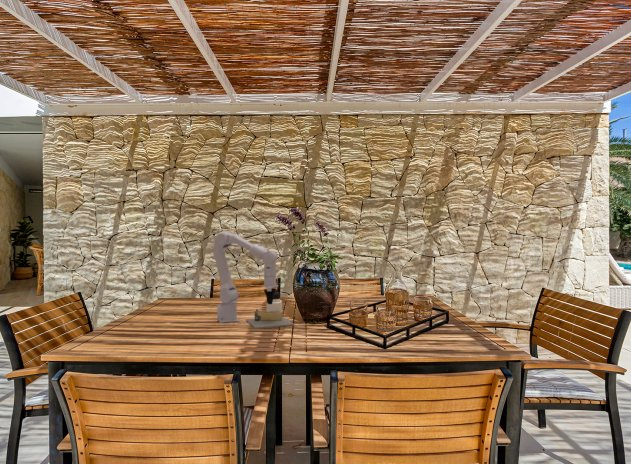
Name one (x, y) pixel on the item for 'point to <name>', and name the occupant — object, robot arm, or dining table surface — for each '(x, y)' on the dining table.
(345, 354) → the dining table surface
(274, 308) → the medicine bottle
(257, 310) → the fixed leaf
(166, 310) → the dining table surface
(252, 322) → the board
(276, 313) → the swing leaf
